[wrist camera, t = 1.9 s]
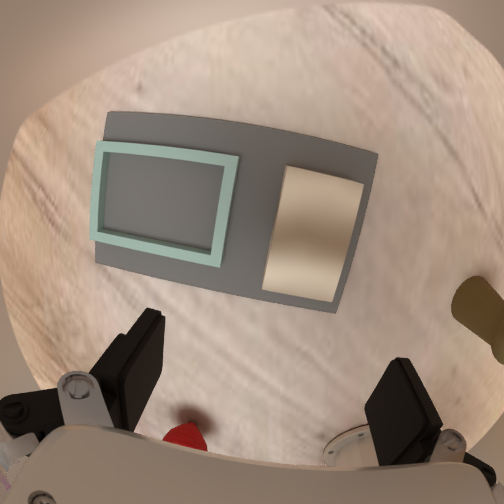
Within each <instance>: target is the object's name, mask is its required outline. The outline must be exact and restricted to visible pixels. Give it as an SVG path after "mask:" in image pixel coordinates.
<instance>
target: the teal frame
mask: <svg viewBox="0 0 504 504" xmlns="http://www.w3.org/2000/svg"><path fill="white" fill-rule="evenodd" d="M109 152H116V153H127V154H137V155H146V156H155V157H164V158H172V159H179V160H187V161H194V162H201V163H208V164H214V165H220V166H225V168H224V174H223V180H222V186H221V192H220V198H219V204H218V210H217V216H216V223H215V229H214V236H213V243H212V250H211V251H209V250H204V249H199V248H194V247H189V246H184V245H179V244H175V243H170V242H165V241H160V240H155V239H150V238H145V237H140V236H135V235H130V234H126V233H121V232H116V231H111V230H106V229H103V223H104V204H105V191H106V179H107V169H108V160H109ZM239 161H240V157H239V156H233V155H227V154H220V153H214V152H207V151H200V150H192V149H185V148H176V147H168V146H159V145H149V144H138V143H125V142H111V141H96V149H95V157H94V167H93V177H92V190H91V206H90V240H94V241H99V242H103V243H107V244H112V245H116V246H121V247H125V248H130V249H134V250H139V251H143V252H148V253H152V254H157V255H162V256H166V257H171V258H176V259H180V260H185V261H190V262H194V263H199V264H204V265H209V266H214V267H219V268H220V267H221V265H222V261H223V255H224V249H225V242H226V236H227V230H228V224H229V218H230V212H231V206H232V200H233V195H234V189H235V183H236V177H237V172H238V166H239Z"/></svg>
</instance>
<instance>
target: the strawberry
mask: <svg viewBox="0 0 504 504" xmlns="http://www.w3.org/2000/svg"><path fill="white" fill-rule="evenodd" d="M162 441H166V442H170V443H173V444H177V445H181V446H185V447H189V448H194V449H198V450H202V451H207V445H206V442H205V440H204V438H203V436H202V434H201V433H200V431H199V430H198V428H197V426H196V424H195V423H193V422H188V423H186V424H182V425H179V426H177V427H175V428H173V429H171V430H170V431H169V432H168V433H167V434H166V435H165V437H164V438H163V440H162ZM207 452H208V451H207Z"/></svg>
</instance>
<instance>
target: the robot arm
mask: <svg viewBox="0 0 504 504" xmlns="http://www.w3.org/2000/svg"><path fill="white" fill-rule="evenodd" d="M164 332H165V316H162V315H161V311H158V310H154V309H151V308H146V309H145V310H144V312H143V313H142V314H141V316H140V317H139V318H138V320H137V321H136V322H135V324H134V325H133V326H132V327H131V329H130V330H129V331H128V333H127V334H126V335H125V334H122V333H120V334H119V335H118V336H117V337H116V338H115V339H114V340H113V342H112V343H111V344H110V346H109V347H108V348H107V349H106V351H105V352H104V353H103V355H102V356H101V357H100V359H99V360H98V361H97V363H96V364H95V365H94V367H93V368H92V369H91V370H90V372H89V373H87V372H82V371H72V372H68V373H66V374H64V375H63V376H62V377H61V378H60V379H59V381H58V383H57V388H53V389H47V390H40V391H34V392H27V393H19V394H12V395H8V396H6V397H4V398H2V399H1V400H0V504H504V486H503V485H502V484H501V483H500V482H498V483H497V484H496V474H495V471H494V469H493V468H492V467H490V466H489V465H487V464H486V463H484V462H482V461H481V460H479V459H477V458H475V457H474V456H472V455H470V454H468V453H467V452H465V451H466V440H465V439H464V437H463V436H462V435H461V434H460V433H459V432H458V431H456V430H453V429H445V430H443V431H442V432H441V429H440V428H441V427H442V426H443V423H442V421H441V419H440V417H439V415H438V413H437V411H436V409H435V407H434V405H433V403H432V401H431V399H430V397H429V395H428V393H427V391H426V389H425V387H424V385H423V383H422V381H421V379H420V377H419V376H418V374H417V372H416V370H415V368H414V366H413V365H412V363H411V361H410V359H408V358H400V357H397V358H395V359H394V360H392V361H391V362H390V363H389V365H388V367H387V369H386V371H385V372H384V374H383V376H382V378H381V379H380V381H379V383H378V384H377V386H376V388H375V389H374V391H373V393H372V394H371V396H370V398H369V399H368V401H367V402H366V404H365V414H366V417H367V421H368V425H367V426H362V427H359V428H356V429H353V430H350V431H348V432H346V433H344V434H342V435H340V436H338V437H337V438H335V439H334V440H333V441H332V442H330V443H329V444H328V446H327V447H326V448H325V450H324V453H323V458H324V463H325V464H326V465H327V466H328V467H322V466H304V465H291V464H281V463H272V462H264V461H256V460H250V459H243V458H237V457H231V456H226V455H221V454H216V453H211V452H207V451H202V450H198V449H194V448H189V447H185V446H181V445H177V444H173V443H170V442H166V441H162V440H159V439H156V438H152V437H148V436H145V435H141V434H137V433H134V430H135V428H136V425H137V423H138V421H139V419H140V417H141V415H142V413H143V410H144V408H145V406H146V404H147V402H148V400H149V398H150V396H151V394H152V391H153V389H154V387H155V385H156V383H157V381H158V379H159V377H160V375H161V372H162V366H163V347H164ZM24 456H28V457H29V458H28V459H27V461H26V462H25V464H24V465H23V467H22V468H21V470H20V472H19V473H18V475H17V476H16V478H15V480H14V482H13V483H12V485H10V484H9V481H8V478H7V472H8V470H9V468H10V467H11V466H12V465H13V464H15V463H18V462H19V458H22V457H24ZM53 499H54V500H53Z"/></svg>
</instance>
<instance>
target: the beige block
mask: <svg viewBox="0 0 504 504" xmlns="http://www.w3.org/2000/svg"><path fill="white" fill-rule="evenodd" d="M363 187H364V184H361V183H358V182H355V181H352V180H348V179H344V178H340V177H336V176H332V175H328V174H323V173H319V172H315V171H310V170H306V169H301V168H297V167H292V166H287V165H286V166H285V171H284V176H283V181H282V186H281V191H280V196H279V201H278V206H277V211H276V216H275V221H274V226H273V230H272V235H271V240H270V245H269V250H268V255H267V259H266V264H265V269H264V275H263V284H262V290H267V291H273V292H278V293H283V294H288V295H294V296H299V297H305V298H310V299H316V300H321V301H327V302H332V301H333V298H334V294H335V291H336V288H337V285H338V281H339V278H340V275H341V271H342V268H343V265H344V261H345V258H346V254H347V250H348V247H349V243H350V239H351V236H352V232H353V228H354V224H355V220H356V216H357V212H358V208H359V204H360V200H361V195H362V191H363Z"/></svg>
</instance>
